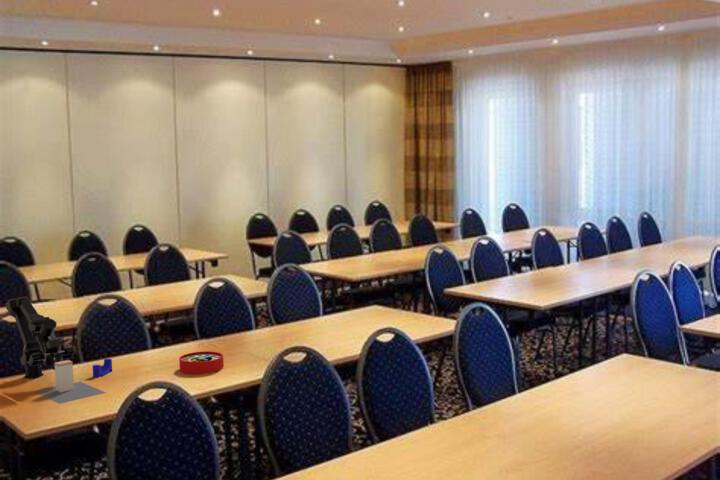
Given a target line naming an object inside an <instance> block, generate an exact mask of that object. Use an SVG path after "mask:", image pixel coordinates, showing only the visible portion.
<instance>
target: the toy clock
mask: <svg viewBox="0 0 720 480" xmlns="http://www.w3.org/2000/svg"><path fill="white" fill-rule="evenodd" d="M178 359H179V360H178V362H179V371H180V373H182V374H186V375H207V374H206V373H209V374H213V373H212V372H214V373H217V372H220V371H222V370H223V369H224V368H225V365H224V354H223V353H221V352H218V351H213V350H212V351H209V350H207V351H194V352H193V351H192V352H189V353H185V354H183V355H180V356H179V358H178ZM223 367H224V368H223ZM221 369H222V370H221ZM219 370H220V371H219Z"/></svg>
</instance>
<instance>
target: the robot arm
mask: <svg viewBox="0 0 720 480" xmlns="http://www.w3.org/2000/svg"><path fill="white" fill-rule="evenodd" d="M5 309H6V310H7V312H8V314H9V315H10V316H11V317H13V318H14V319H15V322H16V325H17V328H18V331H19V333H20V334H19V335H20V336H21V339H22V342H23V345H24V346H23V349H22V355H21V357H20V363H21V365H23V366H24V376H22V378H24V379H37V378H40V377H41V376H44V374H45V373H43V369H42V365H41V363H43V365H44V366H47V367H49V368H51V370H53V371H55V363H56V362H61V361H62V359H64V360H70V359H72V358H73V356H74V354H75V352H76V349H75V347H74V346H72V345H71V346H66V347H63V350H61V351H60V347H62V346H63V345H64V344H65V339H64V337H63V336H60V337H57V338H56V339H55V338H54V339H53V338H52V336H53V334H54V332H55V330H56V327H57V321H55V320H54V319H53V318H50V316H44V315H42V314H39V313H38V312H37V309H36V308H35V307H34V305H33V304H32V303H31V301H30V298H29V297H28V296H21V297H17V298H12V299H8V300H7V302H5ZM35 333H36V336H35V338H34V334H35Z"/></svg>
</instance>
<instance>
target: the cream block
mask: <svg viewBox="0 0 720 480" xmlns="http://www.w3.org/2000/svg"><path fill="white" fill-rule="evenodd" d="M54 377H55V387H56V391H59V392H64V391H69V390H73V389H74V383H75V382H74V367H73V361H71V360H70V359H65V360H61V361H60V362H56V363H55V370H54Z"/></svg>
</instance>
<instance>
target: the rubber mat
mask: <svg viewBox="0 0 720 480" xmlns="http://www.w3.org/2000/svg"><path fill="white" fill-rule="evenodd" d="M35 393H36V394H38V395H40V396H42V397H44V398H47V399H49V400H51V401H53V402H55V403H57V404H59V405H60V404H64V403H68V402H72V401H77V400H80V399H85V398H90V397H93V396H98V395H102V394H106V393H107V392H106V391H104V390H101V389H99V388H96V387H95V386H91V385H89V384H87V383H85V382H83V381H78V382H74V389H73V390H69V391H64V392H59V391H56V386H54V387H50V388H46V389H42V390H36V391H35Z"/></svg>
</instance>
